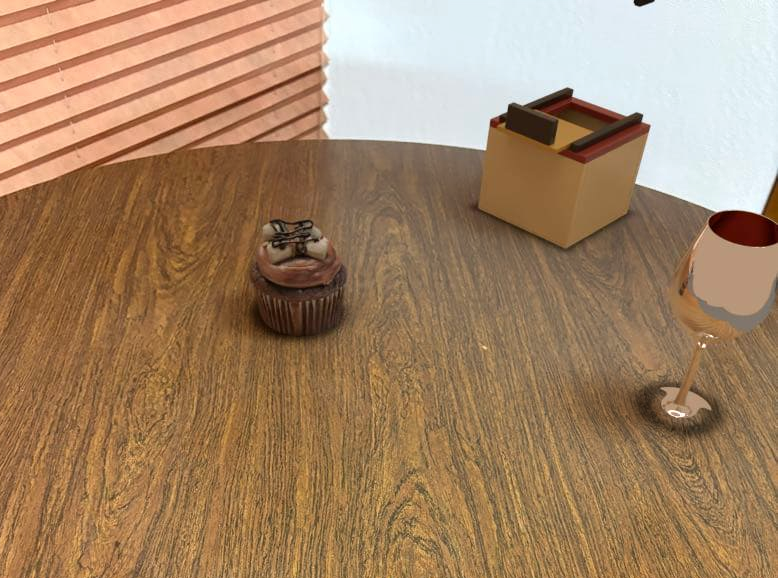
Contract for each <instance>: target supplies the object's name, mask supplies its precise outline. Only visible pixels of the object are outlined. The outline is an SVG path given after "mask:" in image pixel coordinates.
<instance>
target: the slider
mask: <svg viewBox="0 0 778 578" xmlns="http://www.w3.org/2000/svg"><path fill="white" fill-rule="evenodd" d="M506 110H507V111H506V112H507V116H506V122H505V123H502V124H500V125H498V126H497V130H498V131H500V132H503V133H505V134H508V135H510V136H513V137H515V138H518V139H520V140H523V141H525V142H528V143H530V144H533V145H535V146H538V147H540V148H542V149H545V150H547V151H550V152H552V153H555V154H557V153H559V152H561V151H563V150H565V149H567V148H569V147H570V145H571V143H572V142H574V141H576V140H578V139H580V138H582V137H585V136H587V135H589V134H591V133H593V131H590V130H588V129H585V128H582V127H580V126H577V125H575V124H572V123H569V122H567V121H564V120H561V119H559V118H556V117H554V116H551V115H548V114H546V113H543V112H540V111H538V110H533V109H530V108H527V107H525V106H523V105H522V104H520V103H517V102H511V103H508V104H507V109H506Z"/></svg>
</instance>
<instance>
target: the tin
mask: <svg viewBox="0 0 778 578" xmlns="http://www.w3.org/2000/svg"><path fill="white" fill-rule="evenodd" d="M574 91H575V90H574V89H573V88H572V87H571V88H570V87H565V88H562V89H559V90H557V91H555V92H552V93H549V94H547V95H545V96H542V97H539V98H537V99H535V100H532V101H530V102H528V103H525V104H523V105H522V106H525V107H527V108H530V109H533V110H538V111H540V112H543V113H546V114H548V115H551V116H554V117H556V118H559V119H561V120H564V121H567V122H569V123H572V124H575V125H577V126H580V127H582V128H585V129H588V130H590V131H593V133H591V134H589V135H587V136H585V137H582V138H580V139H578V140H576V141H574V142H572V143H571V145H570V147H569V148H567V149H565V150H563V151H561V152H559V153H557V154H555V153H552V152H550V151H547V150H545V149H542V148H540V147H538V146H535V145H533V144H530V143H528V142H525V141H523V140H520V139H518V138H515V137H513V136H510V135H508V134H505V133H503V132H500V131H498V130H497V126H498V125H500V124H502V123H505V122H506V116H507V111H506V112H503V113H501V114H499V115H497V116H494V117H492V118H490V119H489V127H488V133H487V138H486V140H487V141H486V147H485V154H484V161H483V169H482V175H481V182H480V183H481V184H480V190H479V197H478V206H477V209H479V210H481V211H483V212H485V213H487V214H490V215H491V216H494V217H496V218H498V219H500V220H503V221H505V222H507V223H509V224H511V225H514V226H516V227H517V228H520V229H522V230H524V231H526V232H529V233H531V234H533V235H535V236H537V237H539V238H541V239H543V240H545V241H547V242H550V243H552V244H553V245H557V246H559V247H560V248H563V249H565V250H566V249H568V248H569V247H572V246H573V245H574V244H576V243H578V242H579V241H581V240H584V239H585V238H587V237H588V236H590V235H592V234H594V233H596V232H597V231H599V230H600V229H602V228H604V227H605V226H607V225H609V224H611V223H612V222H614V221H616V220H618V219H620V218H621V217H623V216H625V215H627V214H628V211H629V207H630V204H631V201H632V196H633V193H634V189H635V185H636V182H637V178H638V174H639V170H640V167H641V164H642V160H643V156H644V152H645V148H646V145H647V142H648V137H649V135H650V130H651V124H649V123H647V122H643V120H644V119H643V118H644V114H643V113H640V112H638V111H636V112H633V113H631V114H629V115H624V114H621V113H618V112H616V111H613V110H610V109H608V108H605V107H603V106H599V105H597V104H594V103H592V102H588V101H586V100H583V99H580V98H578V97H575V96H573V95H574Z"/></svg>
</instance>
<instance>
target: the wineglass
mask: <svg viewBox="0 0 778 578" xmlns="http://www.w3.org/2000/svg"><path fill="white" fill-rule="evenodd" d="M777 294H778V223H777V222H776V221H774V220H773V219H772V218H769V217H767V216H766V215H763V214H760V213H758V212H753V211H749V210H742V209H725V210H720V211H716V212H714V213H712V214H711V215H709V217H708V218H707V219H706V221H705V222H704V224H703V225H702V227H701V228H700V229H699V231H698V233H697V234H696V236H695V237H694V239H693V240H692V242H691V244H690V245H689V246H688V248H687V249H686V251H685V252H684V254H683V256H682V257H681V259H680V260H679V262H678V264H677V266H676V268H675V269H674V272H673V274H672V276H671V279H670V282H669V287H668V300H669V305H670V309H671V310H672V313H673V314H674V317H675V318H676V320H677V321H678V323H679V324H680V325H681V326H682V328H683V329H684V330H685V331H686V332H687V333H688V334H689V335H690V336H691V337H692V339H693V342H694V346H695V347H694V350H693V352H692V355H691V358H690V360H689V363H688V367H687V369H686V372H685V375H684V377H683V380H682V382H681V385H680V387H673V386H664V387H663V386H662V387H660V390H662V391H664V392H665V393H666V395H665V396H664V397H663V398H662V400H661V403H660V404H661V408H662V409H663V411H665V413H666V414H668V415H670V416H672V417H675V418H680V419H686V418H687V419H688V418H692V417H693V416H695V415H696V414H697V413H698V411H699V410H700V409H702V408H703V409H706V410H709V411H712V407H711V405H710V404H709V403H708V401H707V400H705V399H704V398H703V397H702V396H700V395H699V394H697V393H695V392H693V391H691V390H690V389H691V386H692V385H693V381H694V379H695V376H696V373H697V371H698V368H699V366H700V363H701V360H702V358H703V356H704V352H705V351H706V349H707V348H708V347H709V346H712V345H713V344H716V343H719V342H725V341H729V340H732V339H735V338H738V337H741V336H743V335H745V334H747V333H749V332H751V331H753V330H754V329H755V328H757V327H758V326H759V325H760V324H761V323H763V321H765V319H767V317H768V316H769V314H770V312H771V310H772V309H773V306H774V303H775V300H776V297H777Z"/></svg>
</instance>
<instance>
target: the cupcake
mask: <svg viewBox="0 0 778 578" xmlns="http://www.w3.org/2000/svg"><path fill="white" fill-rule="evenodd" d="M289 225H290V226H294V228H293V229H294V230H289V228H288V226H289ZM297 225H298V226H297ZM314 225H315V223H314V221H313V220H311V219H300V220H296V221H294V222H289V221H285V220H283V219H280V218H275V217H273V218H272V220H270V221H268V223H267V224H265V225H263V227H262V232H261V234H262V235H261V237H262V239H263V241H262V242H261V243H260V245H259V246H258V249H257V252H256V257H254V258H253V260H252V262H251V264H250V267H249V274H248V275H249V282H250V285H251V288H252V291H253V292H254V295H255V298H256V301H257V305H258V309H259V313H260V317H261V319H262V321H264V323H265V324H266V325H267V326H268V327H269V328H270V329H271V330H274V331H275V332H278V333H281V334H283V335H288V336H294V337H303V336H308V337H309V336H315V335H319V334H321V333H324V332H325V331H328V330H330V329H331V328H333V326H334V325H336V323H337V322H338V320H339V317H340V315H341V309H342V305H343V301H344V297H345V293H346V289H347V286H348V280H349V279H348V278H349V275H348V274H349V273H348V268H347V265H346V264H343V262H342V258H341V256H340V253H339V251H338V250H337V249H336V247H335V246H334V244H332V242H331V241H330V240H329V239H328V238H327V237H325V236H324V235H323V234H322V232H321V230H320V229H319V228H317V227H316V226H314Z"/></svg>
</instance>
